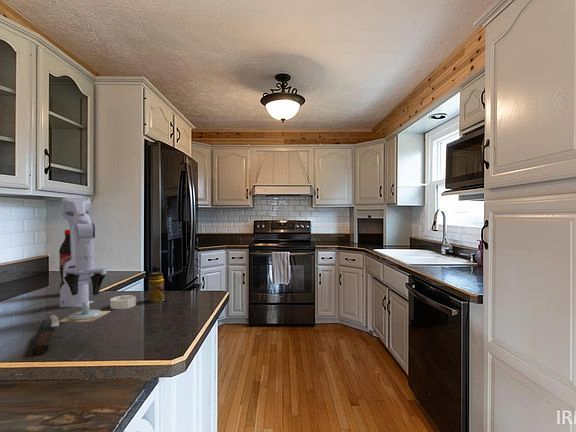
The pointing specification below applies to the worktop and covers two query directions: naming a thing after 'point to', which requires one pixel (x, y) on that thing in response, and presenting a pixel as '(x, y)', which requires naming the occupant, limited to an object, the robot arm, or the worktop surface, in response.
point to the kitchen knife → (45, 335)
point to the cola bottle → (65, 254)
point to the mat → (84, 320)
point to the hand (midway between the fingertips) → (85, 294)
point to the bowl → (123, 302)
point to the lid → (85, 313)
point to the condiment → (156, 287)
